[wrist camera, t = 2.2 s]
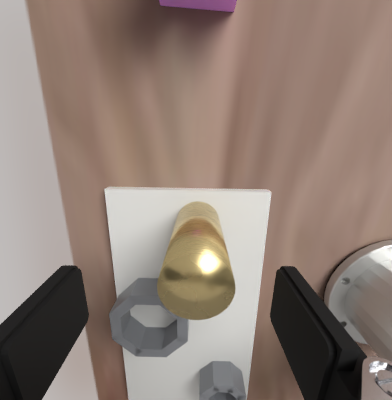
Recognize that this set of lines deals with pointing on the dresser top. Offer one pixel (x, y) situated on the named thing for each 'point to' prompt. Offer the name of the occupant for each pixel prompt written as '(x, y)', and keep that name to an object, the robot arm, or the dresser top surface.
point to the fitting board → (146, 260)
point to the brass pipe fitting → (196, 266)
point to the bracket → (202, 4)
